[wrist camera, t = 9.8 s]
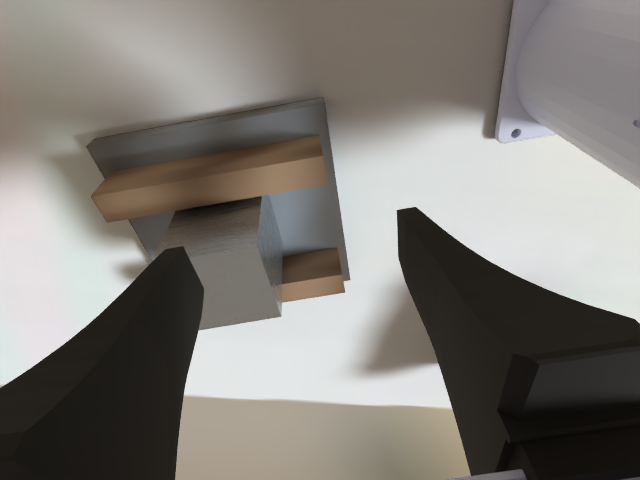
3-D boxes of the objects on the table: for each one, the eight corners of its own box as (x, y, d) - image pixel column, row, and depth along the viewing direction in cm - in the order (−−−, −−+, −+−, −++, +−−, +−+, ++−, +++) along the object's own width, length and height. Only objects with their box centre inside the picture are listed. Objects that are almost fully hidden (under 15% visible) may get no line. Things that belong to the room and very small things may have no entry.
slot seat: (323, 97, 19) (329, 121, 16) (348, 270, 26) (355, 307, 23) (94, 138, 19) (61, 169, 16) (182, 297, 26) (170, 336, 24)
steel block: (263, 177, 20) (256, 245, 15) (282, 241, 23) (281, 316, 18) (183, 192, 20) (151, 264, 15) (211, 253, 23) (192, 331, 18)
